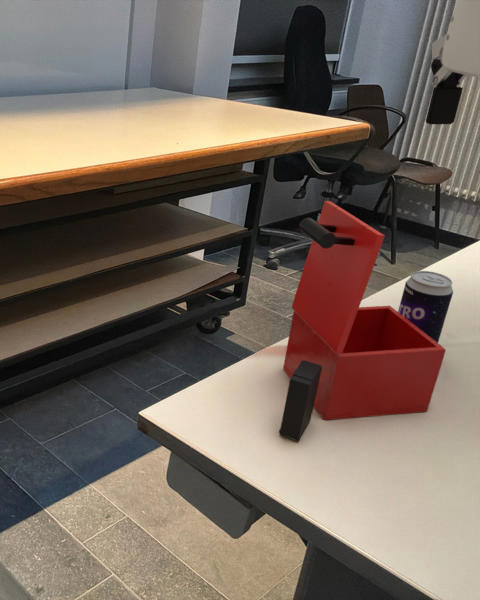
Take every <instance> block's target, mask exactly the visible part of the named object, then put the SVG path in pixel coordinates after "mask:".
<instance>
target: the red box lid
mask: <svg viewBox="0 0 480 600" xmlns="http://www.w3.org/2000/svg"><path fill="white" fill-rule="evenodd" d="M298 228H299V230H300V231H299V232H301V233H303V234H304V235H305V236H307V237H308V238H309V239H310V240H312V241H311V243H310V247H309V251H308V253H307V256H306V260H305V262H304V266H303V269H302V272H301V276H300V279H299V282H298V285H297V288H296V292H295V294H294V298H293V301H292V304H291V309H293V311H296V312H297V313H298V315H299V316H300V317H301V318H302V319H303V320H304V321H305V322H306V323H307V324H308V325H309V326H310V327H311V328H312V329H313V330H314V331H315V332H316V333H317V334H318V335H319V336H320V337H321V338H322V339H323V340H324V341H325V342H326V343H327V344H328V345H329V346H330V347H331V348H332V349H333V350H334V351H335V352H336V353H343V350H344V347H345V345H346V342H347V339H348V336H349V334H350V331H351V328H352V325H353V323H354V320H355V317H356V314H357V312H358V309H359V307H361V303H362V301H363V298H364V295H365V292H366V289H367V287H368V284H369V281H370V279H371V276H372V273H373V270H374V267H375V264H376V262H377V259H378V256H379V254H380V250H381V248H382V246H383V243H384V239H385V237H386V236H385V234H384V233H381V232H380V231H378V230H377V229H375V228H374V227H372V226H371V225H369V224H367V223H365V222H364V221H362V220H360V219H359V218H358V217H356V216H355V215H353V214H351V213H350V212H348V211H347V210H345V209H343V208H342V207H340V206H338V205H337V204H335V203H334V202H332V201H330V200H325V201H324V202H323V206H322V209H321V212H320V214H319V218H318V222H317V221H316V220H314V219H313V218H311V217H305V218H303V219H302V220H301V221H300V223H299V225H298Z"/></svg>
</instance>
